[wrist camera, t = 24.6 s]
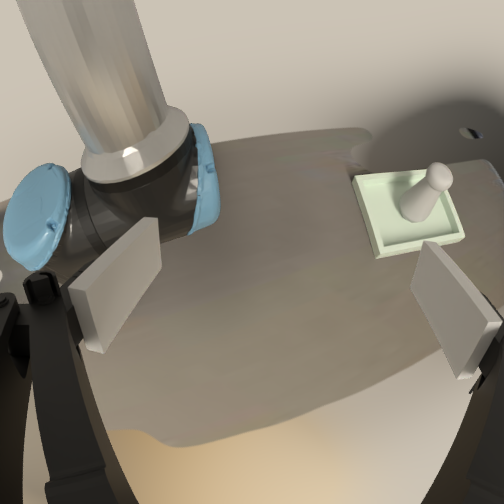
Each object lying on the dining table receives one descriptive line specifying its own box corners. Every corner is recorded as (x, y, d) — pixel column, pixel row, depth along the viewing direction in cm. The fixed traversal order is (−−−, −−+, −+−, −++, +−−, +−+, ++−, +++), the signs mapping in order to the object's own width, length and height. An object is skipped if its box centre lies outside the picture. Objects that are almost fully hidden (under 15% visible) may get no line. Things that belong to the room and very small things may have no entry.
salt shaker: (419, 232, 48) (456, 197, 35) (391, 218, 49) (423, 177, 37) (426, 206, 49) (460, 167, 37) (399, 192, 50) (429, 149, 38)
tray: (375, 258, 47) (380, 253, 45) (351, 183, 52) (354, 175, 49) (458, 241, 47) (465, 236, 45) (432, 175, 52) (437, 168, 50)
